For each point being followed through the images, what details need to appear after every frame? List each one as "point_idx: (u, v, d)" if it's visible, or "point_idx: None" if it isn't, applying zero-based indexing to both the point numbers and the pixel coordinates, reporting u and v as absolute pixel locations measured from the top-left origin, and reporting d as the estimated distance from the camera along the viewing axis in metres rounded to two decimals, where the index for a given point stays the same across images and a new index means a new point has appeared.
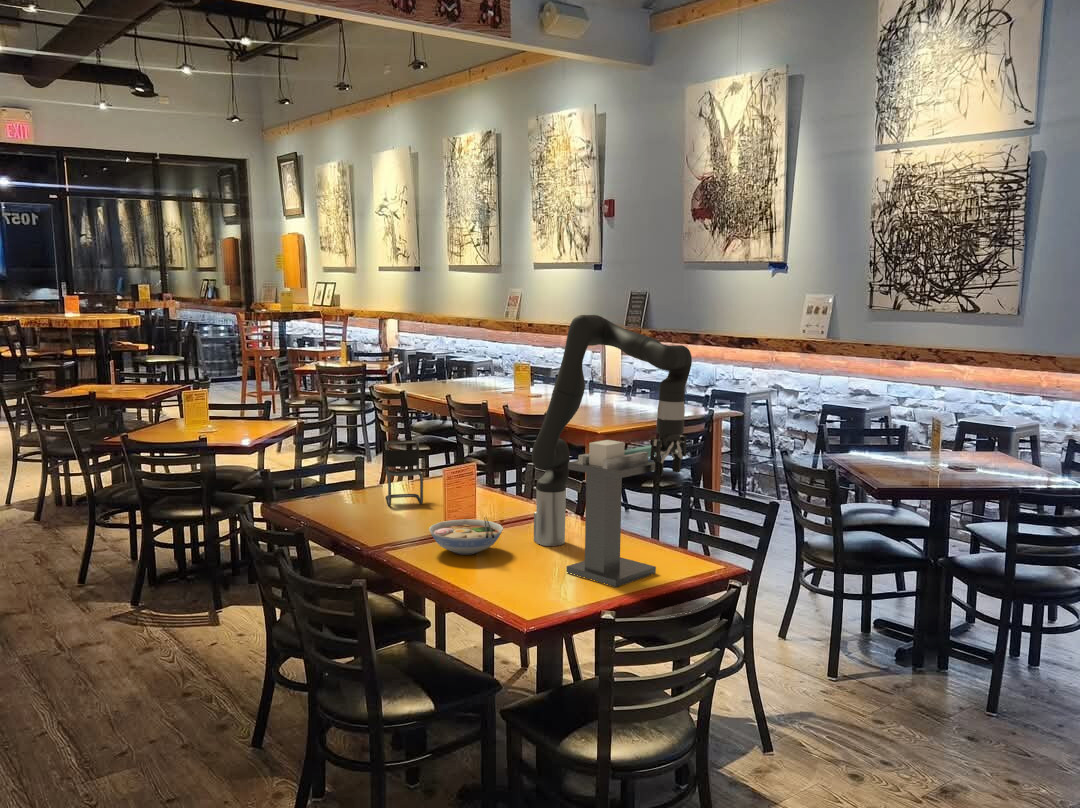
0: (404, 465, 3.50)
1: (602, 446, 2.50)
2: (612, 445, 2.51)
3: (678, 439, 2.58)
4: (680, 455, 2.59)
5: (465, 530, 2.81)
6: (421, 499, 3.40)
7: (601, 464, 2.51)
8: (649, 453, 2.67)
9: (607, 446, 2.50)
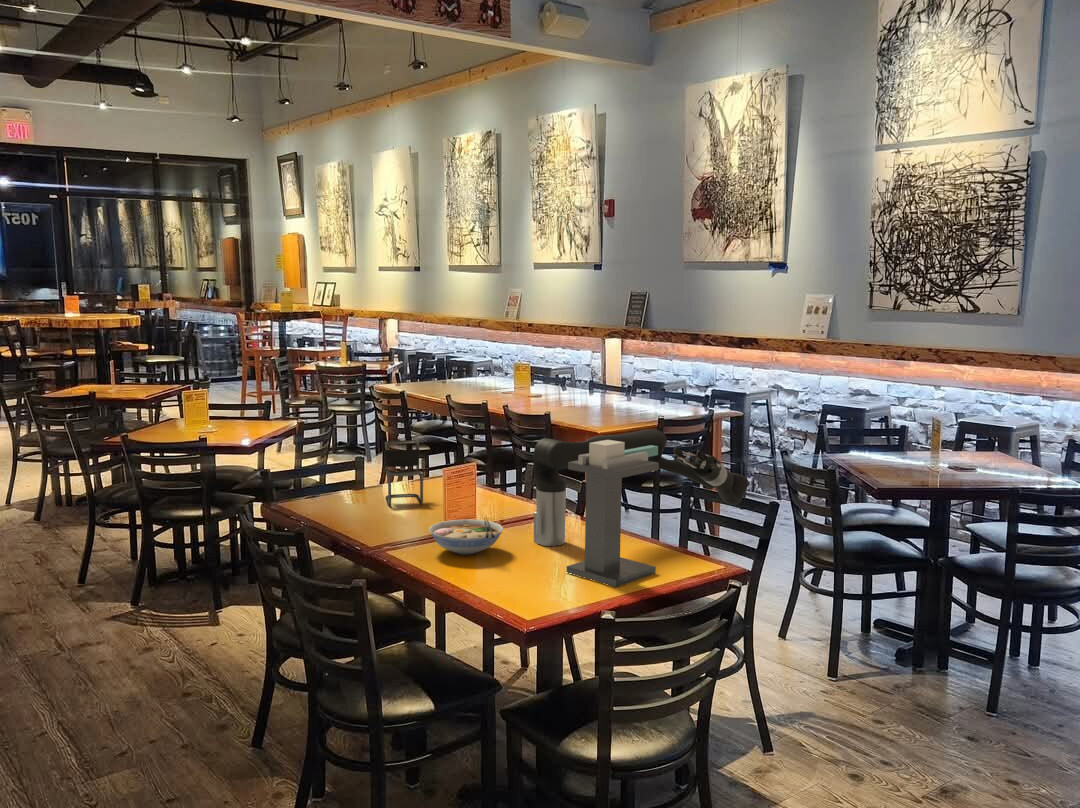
0: (404, 465, 3.50)
1: (602, 446, 2.50)
2: (612, 445, 2.51)
3: None
4: (681, 459, 2.88)
5: (465, 530, 2.81)
6: (421, 499, 3.40)
7: (601, 464, 2.51)
8: (649, 453, 2.67)
9: (607, 446, 2.50)
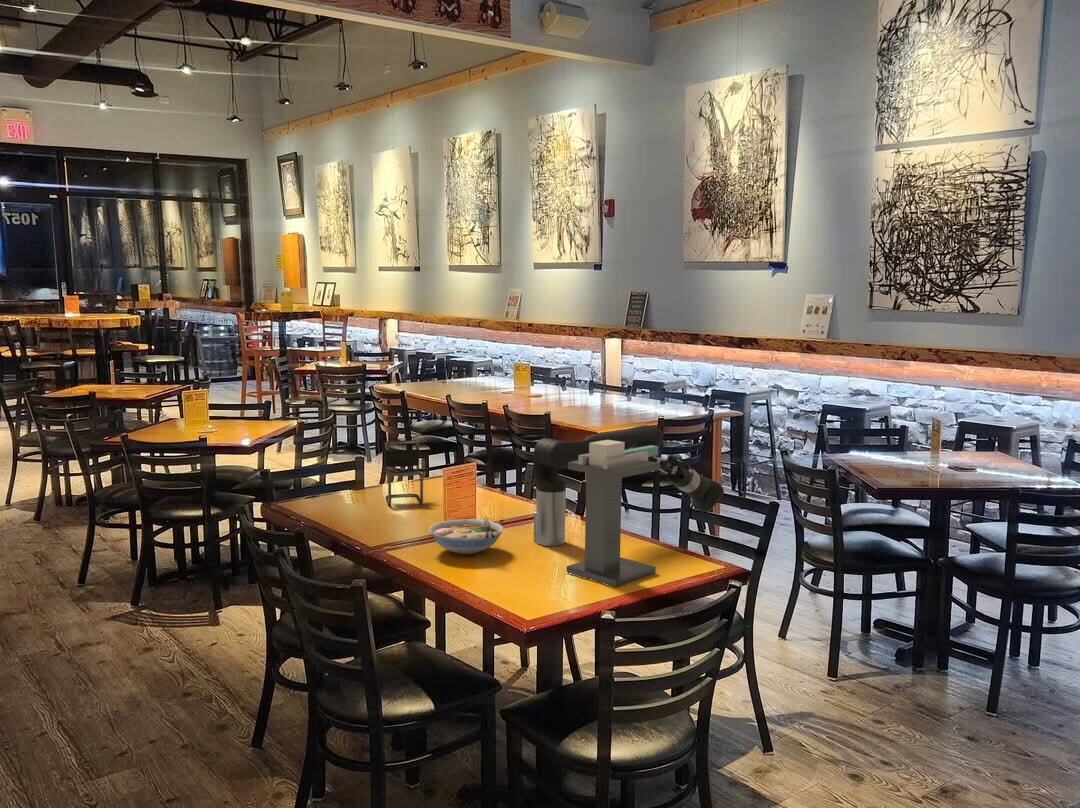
0: (404, 465, 3.50)
1: (602, 446, 2.50)
2: (612, 445, 2.51)
3: None
4: None
5: (465, 530, 2.81)
6: (421, 499, 3.40)
7: (601, 464, 2.51)
8: (649, 453, 2.67)
9: (607, 446, 2.50)
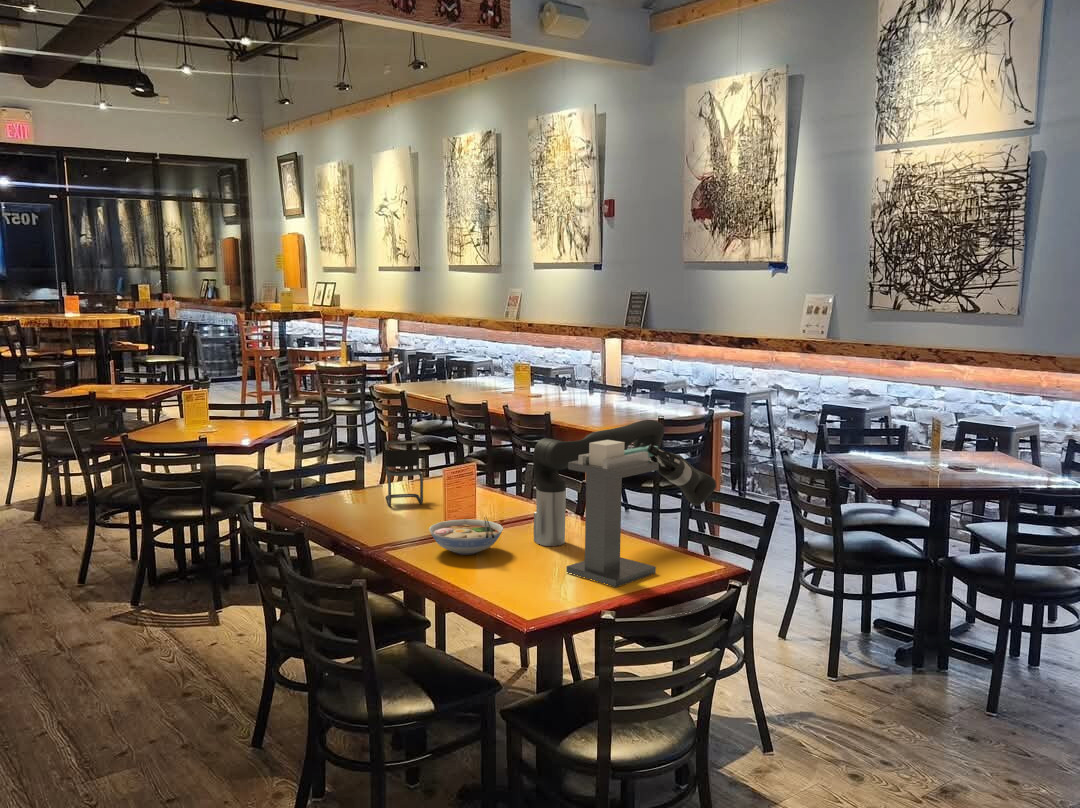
0: (404, 465, 3.50)
1: (602, 446, 2.50)
2: (612, 445, 2.51)
3: None
4: None
5: (465, 530, 2.81)
6: (421, 499, 3.40)
7: (601, 464, 2.51)
8: (649, 453, 2.67)
9: (607, 446, 2.50)
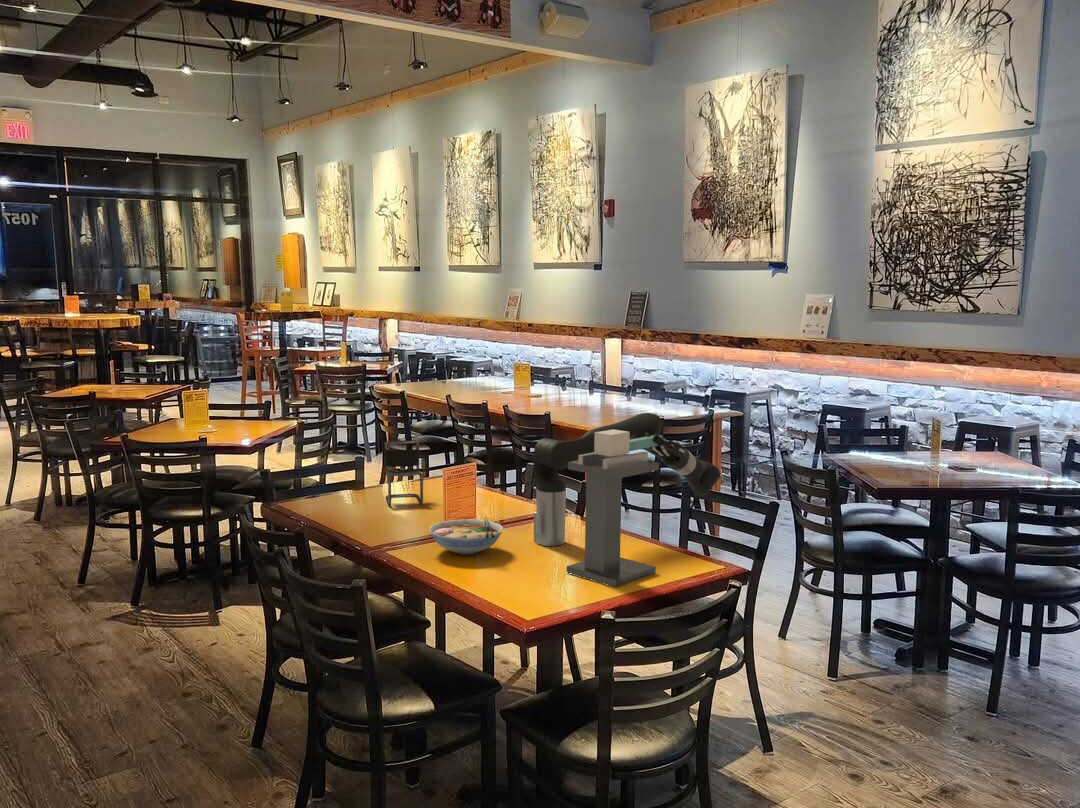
0: (404, 465, 3.50)
1: (607, 436, 2.51)
2: (617, 434, 2.52)
3: None
4: (653, 446, 2.72)
5: (465, 530, 2.81)
6: (421, 499, 3.40)
7: (606, 453, 2.52)
8: (654, 443, 2.68)
9: (612, 435, 2.51)
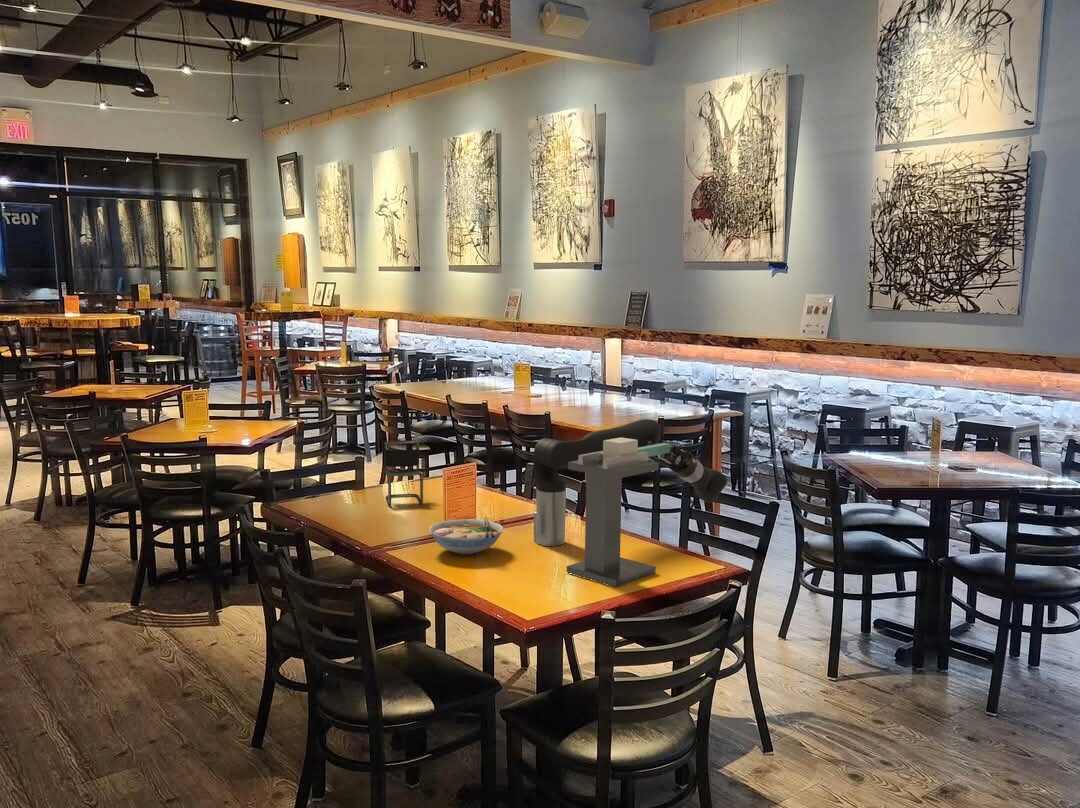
0: (404, 465, 3.50)
1: (616, 444, 2.54)
2: (626, 443, 2.55)
3: None
4: None
5: (465, 530, 2.81)
6: (421, 499, 3.40)
7: None
8: (661, 451, 2.71)
9: (621, 444, 2.54)
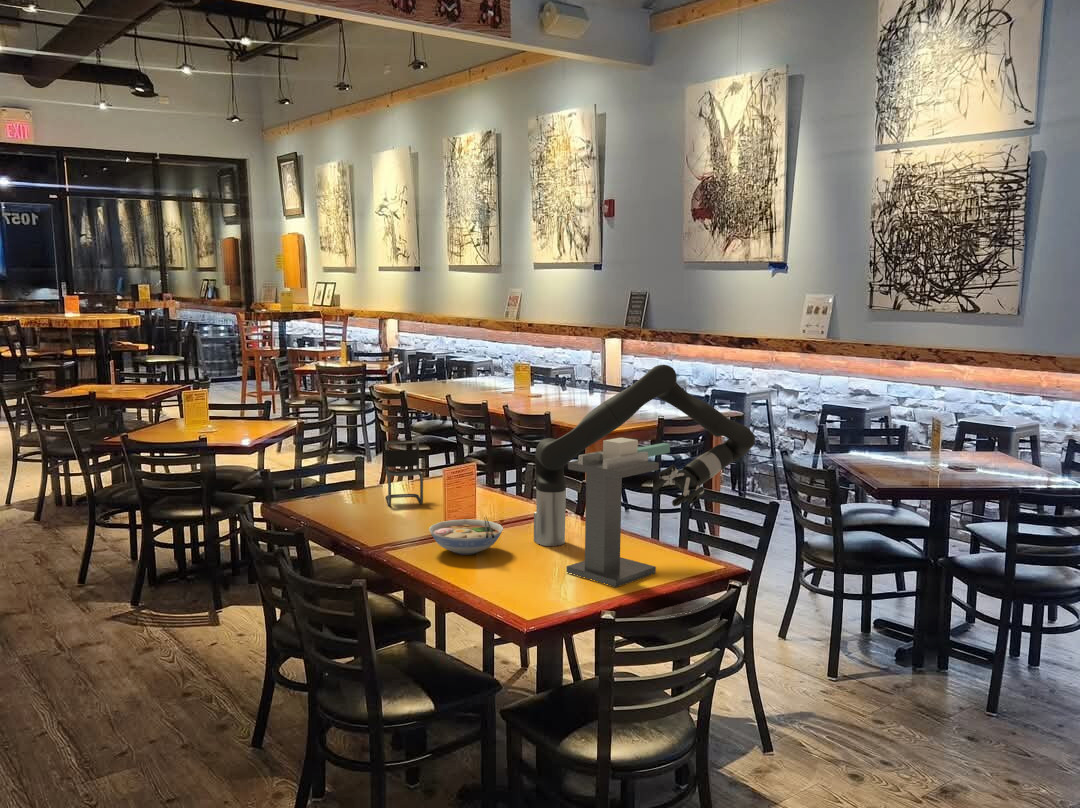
0: (404, 465, 3.50)
1: (616, 444, 2.54)
2: (626, 443, 2.55)
3: None
4: None
5: (465, 530, 2.81)
6: (421, 499, 3.40)
7: None
8: (661, 451, 2.71)
9: (621, 444, 2.54)
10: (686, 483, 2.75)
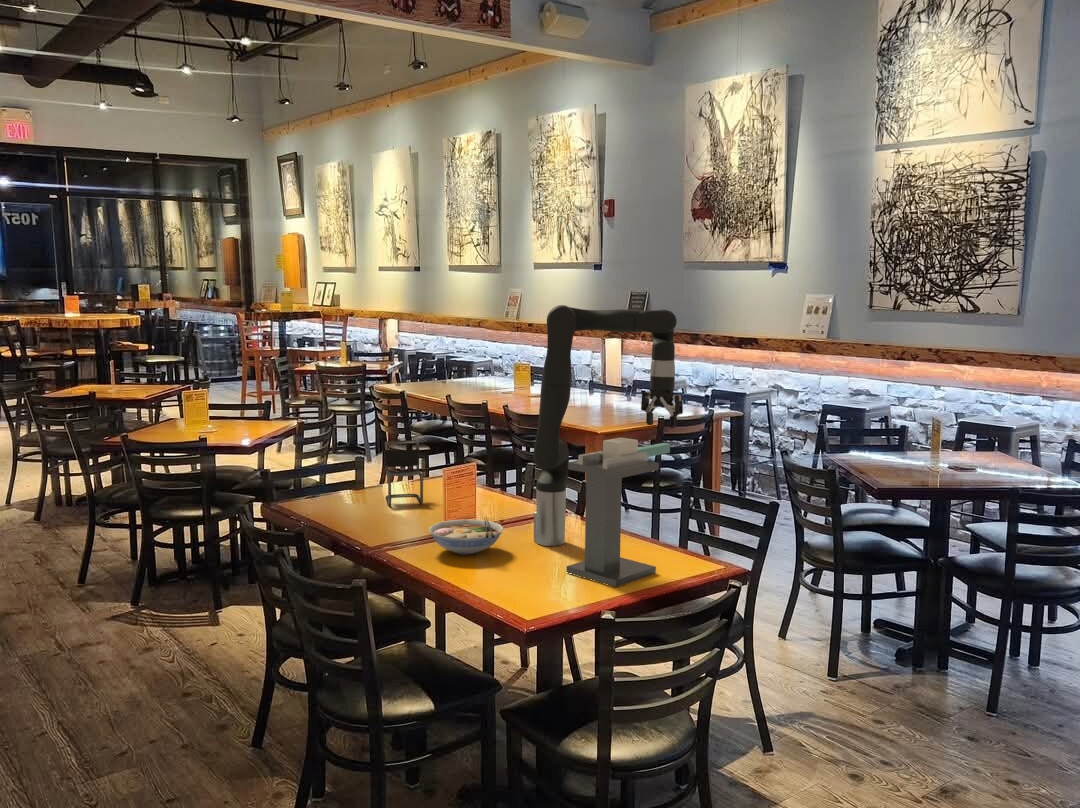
0: (404, 465, 3.50)
1: (616, 444, 2.54)
2: (626, 443, 2.55)
3: None
4: None
5: (465, 530, 2.81)
6: (421, 499, 3.40)
7: None
8: (661, 451, 2.71)
9: (621, 444, 2.54)
10: (664, 403, 2.82)
